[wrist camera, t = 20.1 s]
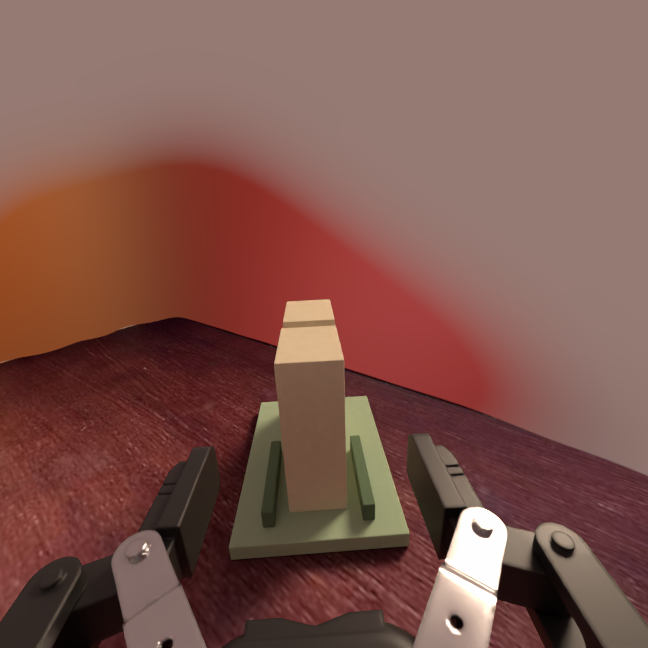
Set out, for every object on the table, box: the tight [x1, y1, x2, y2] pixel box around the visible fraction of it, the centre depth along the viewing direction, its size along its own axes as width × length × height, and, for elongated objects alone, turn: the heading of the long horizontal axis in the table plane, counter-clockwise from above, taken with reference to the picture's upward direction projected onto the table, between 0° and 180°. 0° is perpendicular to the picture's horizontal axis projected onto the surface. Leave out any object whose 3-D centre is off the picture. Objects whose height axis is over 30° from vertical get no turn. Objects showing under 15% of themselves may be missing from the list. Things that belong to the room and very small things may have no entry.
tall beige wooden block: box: [274, 326, 347, 513], centre depth 20 cm, size 4×5×10 cm
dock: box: [229, 299, 410, 560], centre depth 23 cm, size 10×14×11 cm
